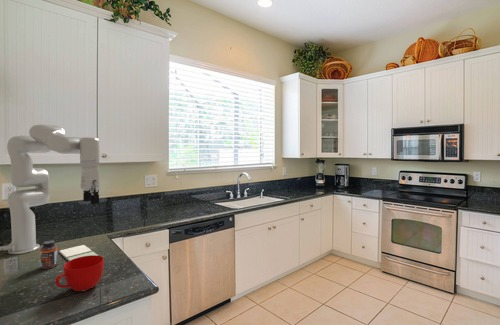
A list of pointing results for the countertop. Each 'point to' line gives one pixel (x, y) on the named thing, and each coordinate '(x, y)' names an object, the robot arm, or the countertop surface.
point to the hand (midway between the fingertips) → (91, 202)
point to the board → (77, 252)
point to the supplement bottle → (48, 255)
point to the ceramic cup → (82, 272)
